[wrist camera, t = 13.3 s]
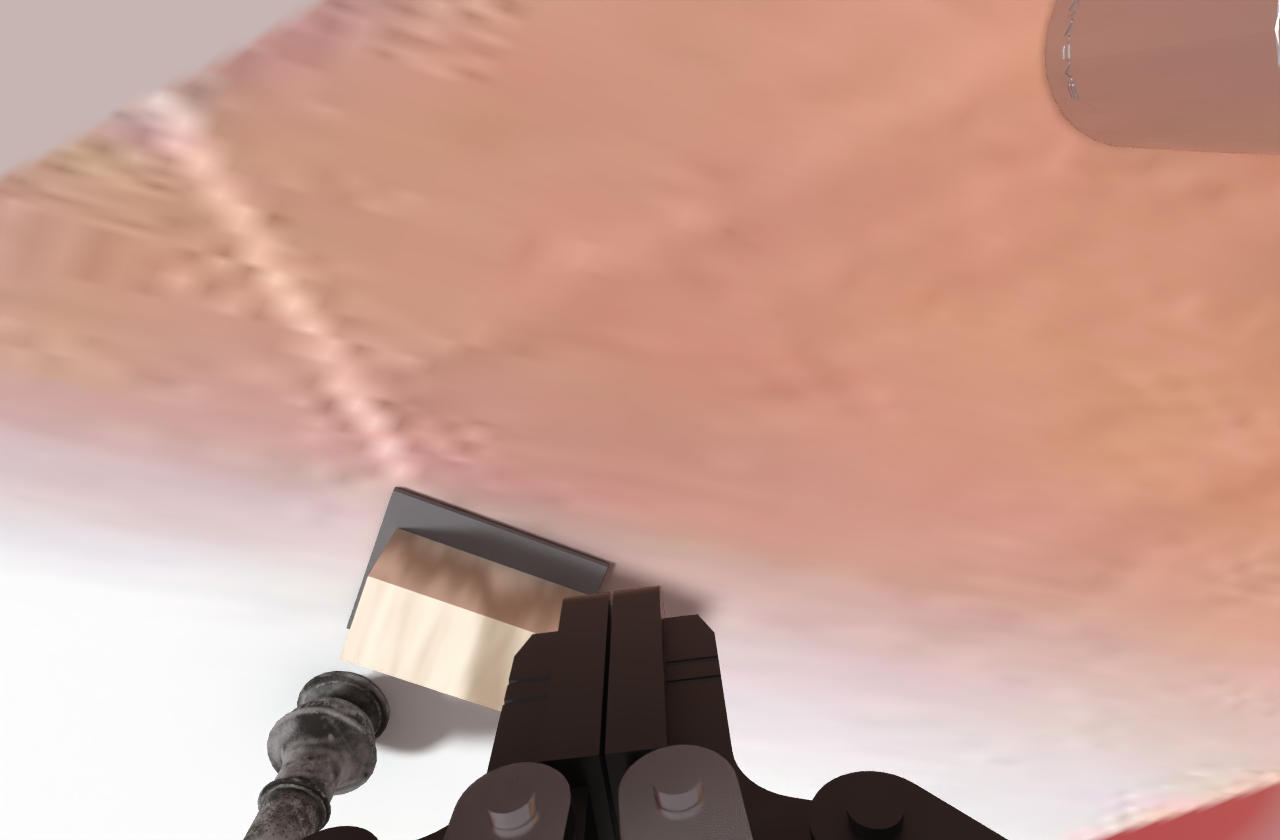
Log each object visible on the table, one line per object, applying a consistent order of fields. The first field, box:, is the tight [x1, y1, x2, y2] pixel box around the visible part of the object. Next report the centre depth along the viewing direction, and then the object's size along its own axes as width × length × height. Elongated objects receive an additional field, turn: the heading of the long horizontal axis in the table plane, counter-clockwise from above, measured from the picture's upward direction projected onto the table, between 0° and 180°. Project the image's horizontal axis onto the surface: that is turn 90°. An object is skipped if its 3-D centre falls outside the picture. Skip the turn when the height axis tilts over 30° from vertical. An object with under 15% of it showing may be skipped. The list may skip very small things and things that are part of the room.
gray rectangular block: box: [347, 487, 608, 629], centre depth 46 cm, size 12×9×1 cm
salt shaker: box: [243, 671, 389, 840], centre depth 43 cm, size 6×6×12 cm
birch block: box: [340, 528, 587, 712], centre depth 43 cm, size 5×5×12 cm
